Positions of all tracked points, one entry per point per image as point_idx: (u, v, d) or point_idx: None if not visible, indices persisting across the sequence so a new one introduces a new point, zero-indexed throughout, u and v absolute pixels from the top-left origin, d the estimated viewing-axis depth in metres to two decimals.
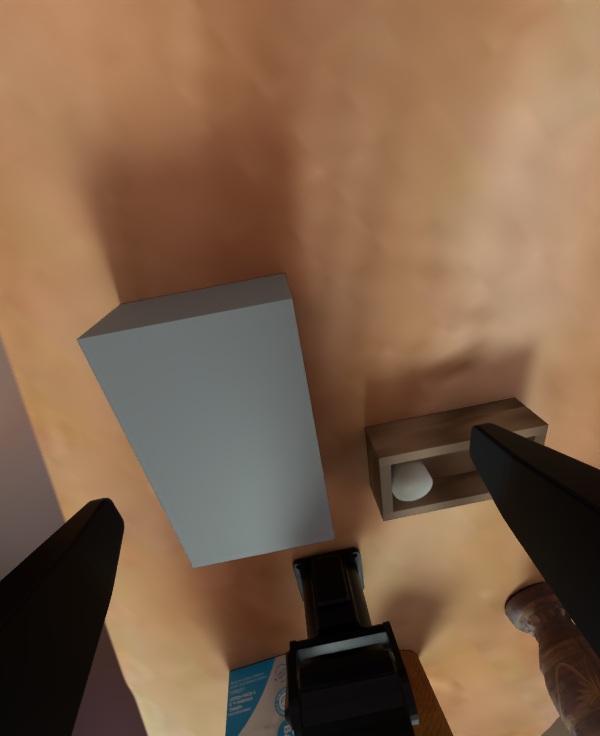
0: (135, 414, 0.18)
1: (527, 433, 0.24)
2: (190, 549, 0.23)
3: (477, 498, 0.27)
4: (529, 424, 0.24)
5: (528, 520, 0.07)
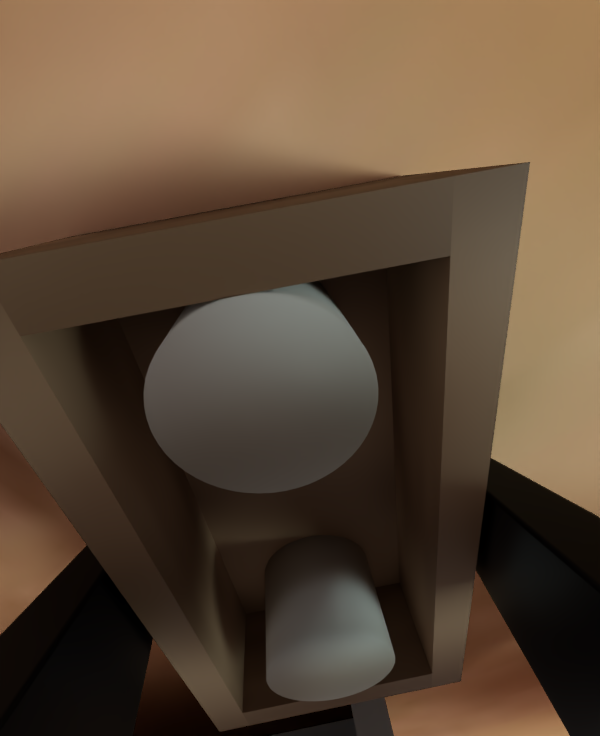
0: None
1: (17, 390, 0.04)
2: None
3: (462, 484, 0.06)
4: None
5: None
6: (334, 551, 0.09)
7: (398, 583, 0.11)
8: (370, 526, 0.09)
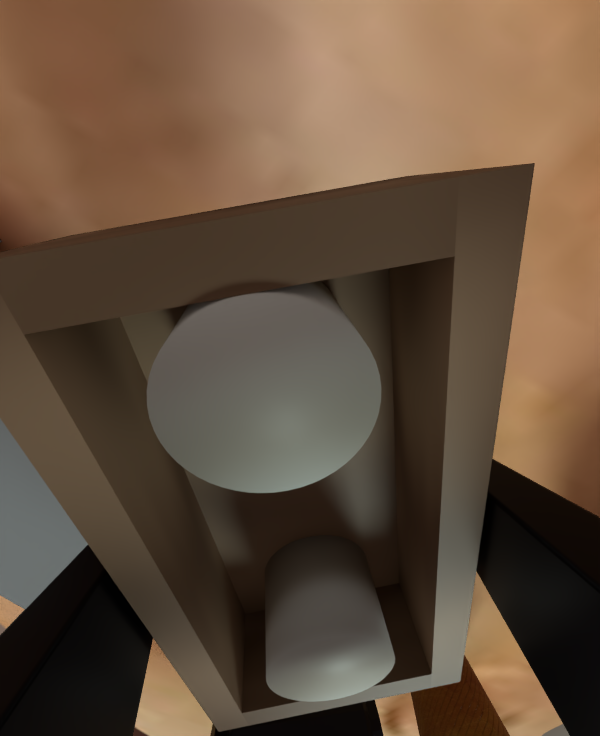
0: None
1: (20, 388, 0.04)
2: (18, 599, 0.18)
3: (464, 485, 0.06)
4: None
5: None
6: (334, 551, 0.09)
7: (398, 584, 0.11)
8: (370, 526, 0.09)
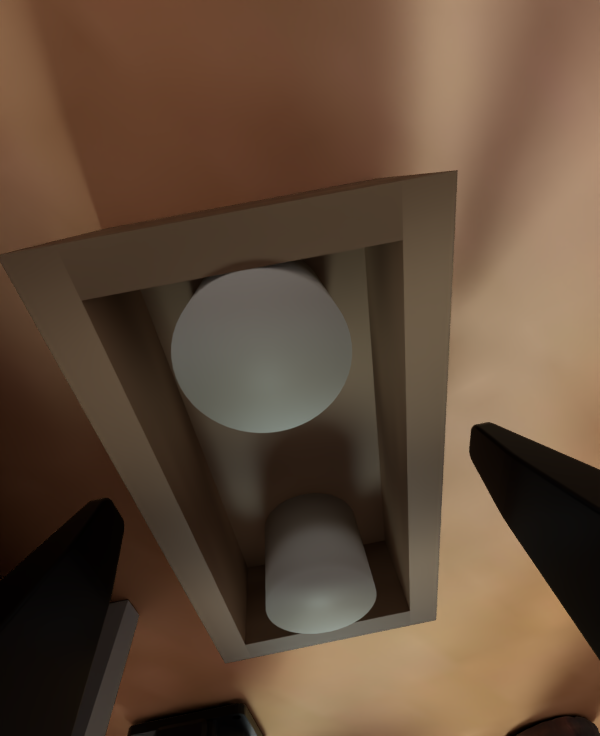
0: None
1: (75, 343, 0.05)
2: None
3: (425, 430, 0.07)
4: None
5: (528, 520, 0.07)
6: (325, 506, 0.10)
7: (384, 542, 0.12)
8: (357, 485, 0.11)
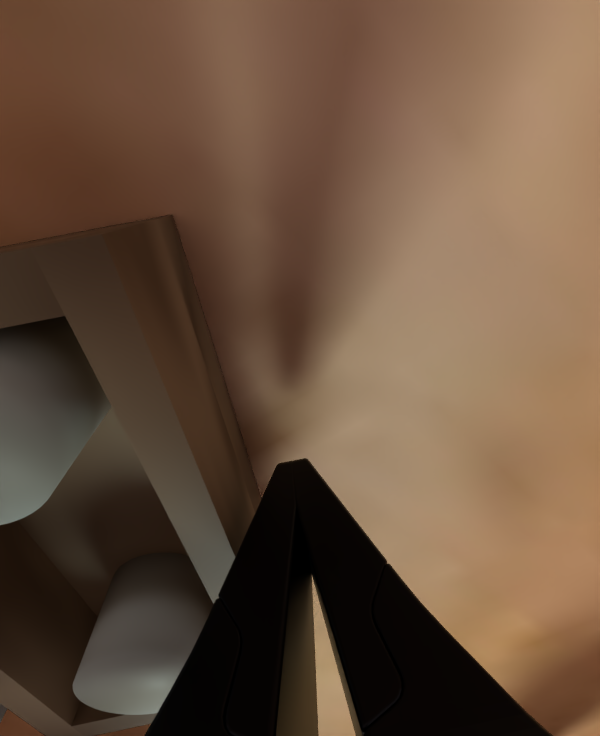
0: None
1: None
2: None
3: (192, 515, 0.06)
4: None
5: (310, 564, 0.07)
6: (166, 569, 0.09)
7: None
8: None
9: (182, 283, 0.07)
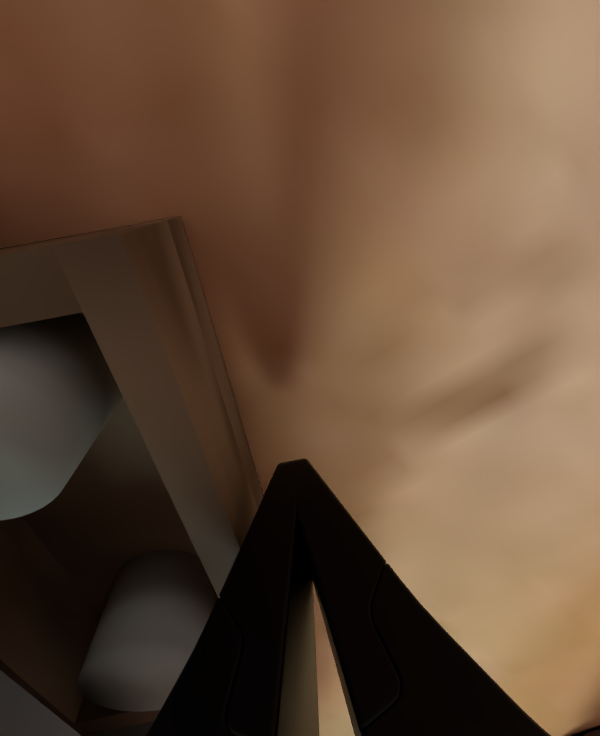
0: None
1: None
2: None
3: (200, 509, 0.06)
4: None
5: (309, 564, 0.07)
6: (169, 566, 0.09)
7: None
8: None
9: (190, 283, 0.07)
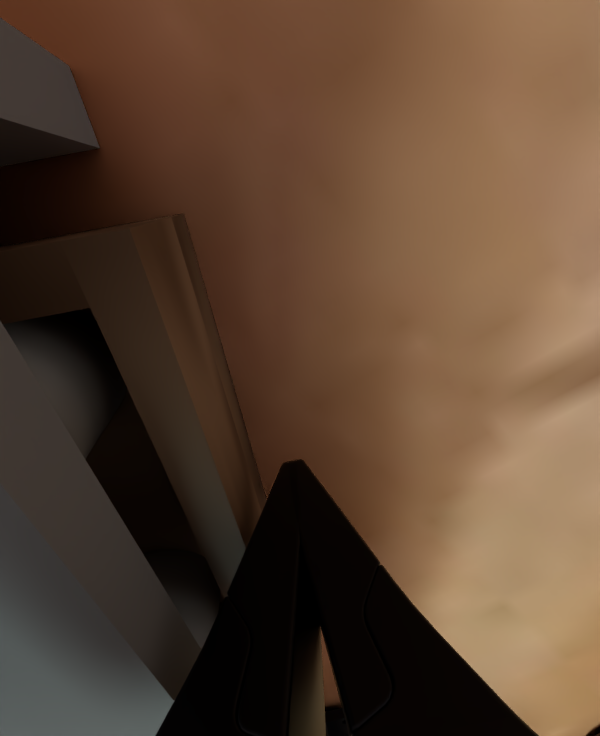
0: None
1: None
2: None
3: (205, 506, 0.06)
4: None
5: None
6: (172, 565, 0.09)
7: None
8: None
9: (193, 280, 0.07)
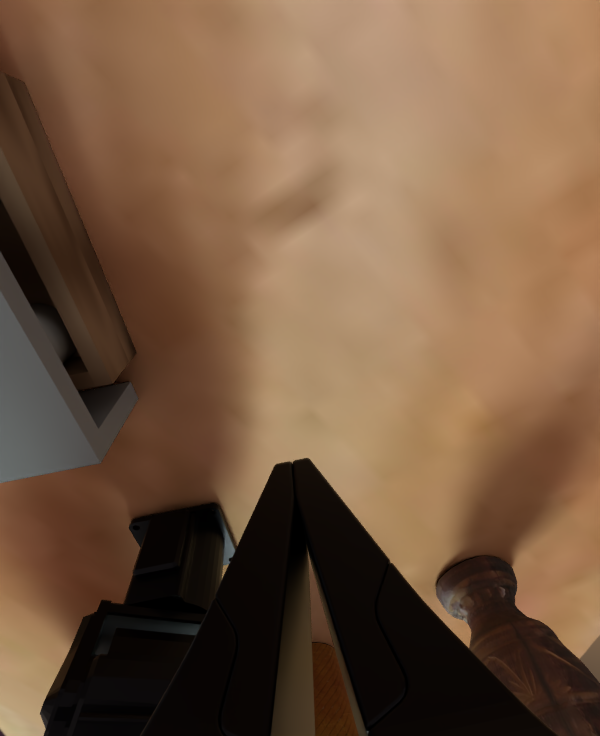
0: None
1: None
2: None
3: (19, 213, 0.13)
4: None
5: (312, 564, 0.07)
6: (39, 307, 0.16)
7: None
8: None
9: (25, 113, 0.13)
